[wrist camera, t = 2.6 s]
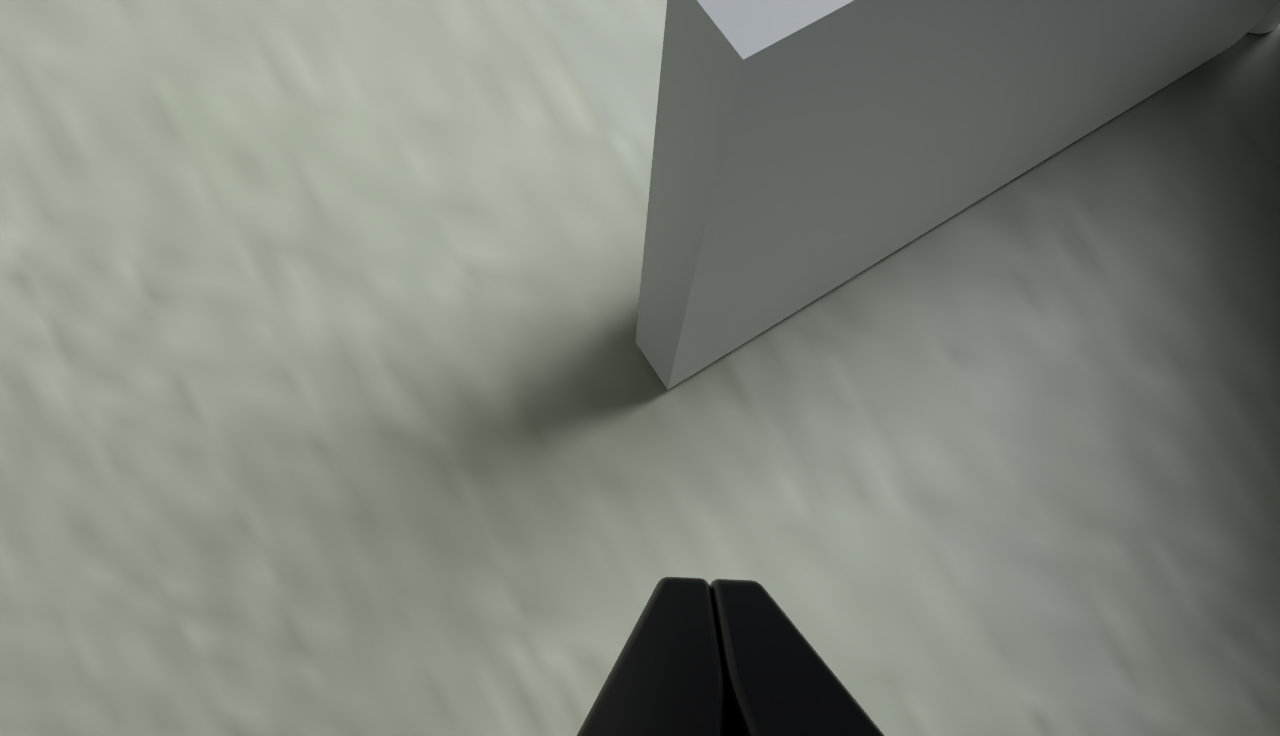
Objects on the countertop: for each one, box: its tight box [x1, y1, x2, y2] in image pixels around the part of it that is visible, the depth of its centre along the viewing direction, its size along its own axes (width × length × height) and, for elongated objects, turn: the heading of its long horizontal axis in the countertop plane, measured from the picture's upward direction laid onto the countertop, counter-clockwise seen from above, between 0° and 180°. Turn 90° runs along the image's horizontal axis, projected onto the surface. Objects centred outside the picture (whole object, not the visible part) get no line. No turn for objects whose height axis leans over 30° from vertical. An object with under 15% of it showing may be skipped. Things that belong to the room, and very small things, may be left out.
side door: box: [635, 0, 1280, 390], centre depth 12 cm, size 13×2×9 cm, turn 123°
